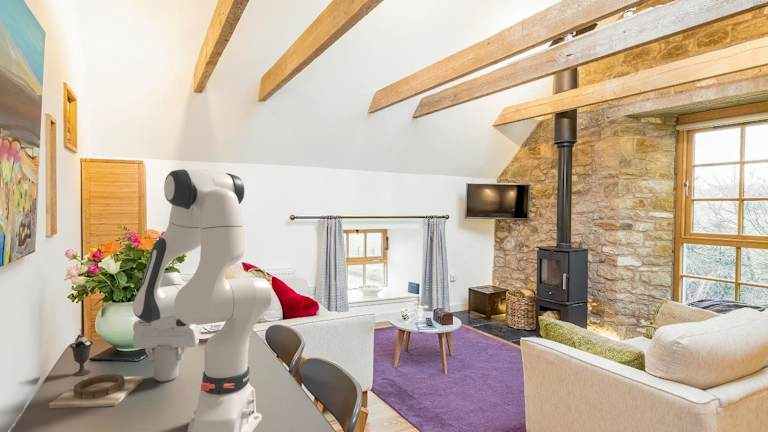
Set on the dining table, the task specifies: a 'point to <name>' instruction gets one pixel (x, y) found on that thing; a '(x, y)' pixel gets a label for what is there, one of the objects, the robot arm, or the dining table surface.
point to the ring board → (97, 401)
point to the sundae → (81, 353)
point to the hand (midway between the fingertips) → (166, 360)
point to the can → (166, 363)
